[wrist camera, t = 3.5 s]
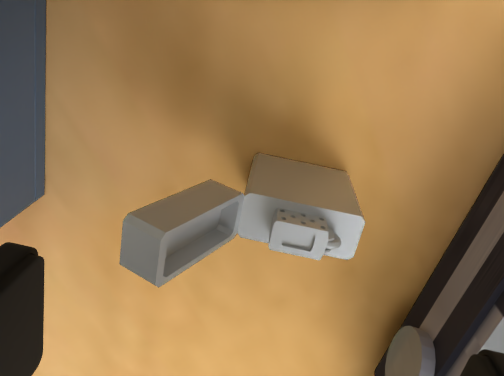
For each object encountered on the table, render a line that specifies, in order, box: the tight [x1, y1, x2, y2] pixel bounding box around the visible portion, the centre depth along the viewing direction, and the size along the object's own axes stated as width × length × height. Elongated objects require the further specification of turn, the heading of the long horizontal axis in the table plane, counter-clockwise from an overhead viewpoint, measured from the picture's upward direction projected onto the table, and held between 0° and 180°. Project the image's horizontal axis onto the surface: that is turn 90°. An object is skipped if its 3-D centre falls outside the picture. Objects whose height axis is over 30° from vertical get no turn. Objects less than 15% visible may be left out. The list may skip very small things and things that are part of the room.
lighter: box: [120, 153, 365, 287], centre depth 15 cm, size 7×2×8 cm, turn 79°
